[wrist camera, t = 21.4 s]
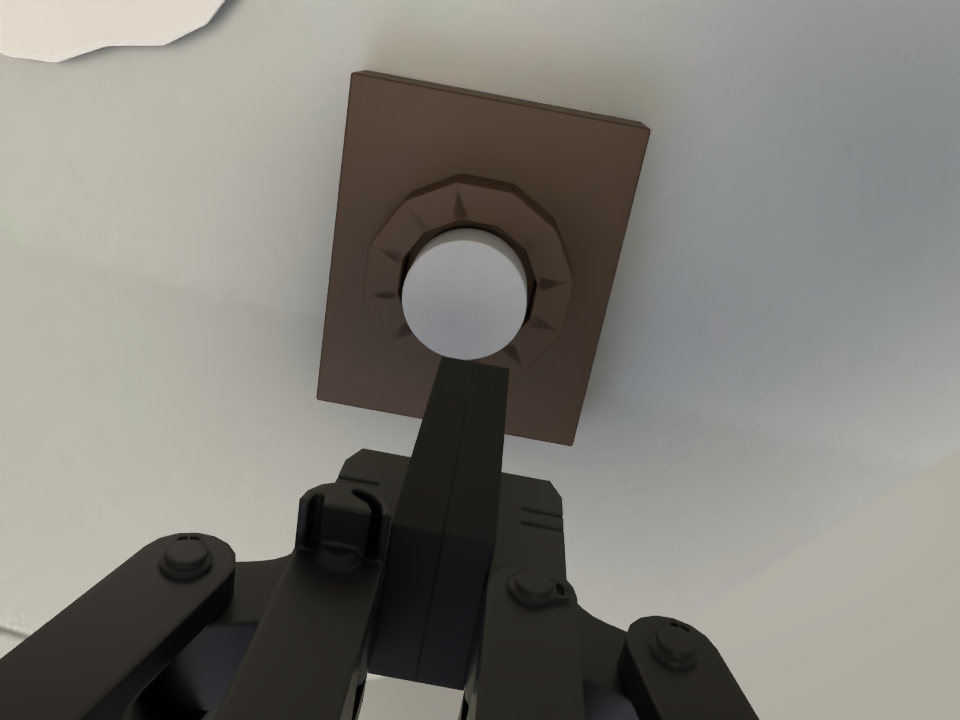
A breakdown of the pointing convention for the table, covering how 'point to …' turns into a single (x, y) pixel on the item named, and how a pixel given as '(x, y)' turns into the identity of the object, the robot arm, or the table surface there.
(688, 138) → the table surface
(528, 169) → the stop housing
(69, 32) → the plate
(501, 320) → the stop button
